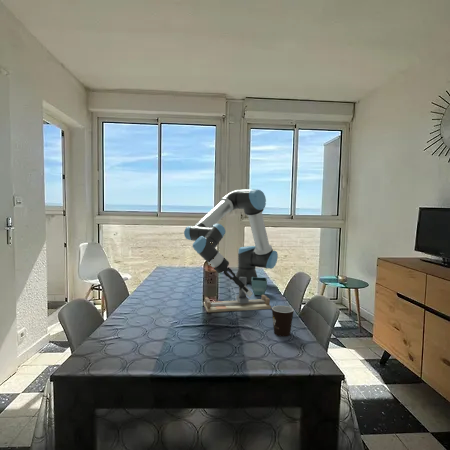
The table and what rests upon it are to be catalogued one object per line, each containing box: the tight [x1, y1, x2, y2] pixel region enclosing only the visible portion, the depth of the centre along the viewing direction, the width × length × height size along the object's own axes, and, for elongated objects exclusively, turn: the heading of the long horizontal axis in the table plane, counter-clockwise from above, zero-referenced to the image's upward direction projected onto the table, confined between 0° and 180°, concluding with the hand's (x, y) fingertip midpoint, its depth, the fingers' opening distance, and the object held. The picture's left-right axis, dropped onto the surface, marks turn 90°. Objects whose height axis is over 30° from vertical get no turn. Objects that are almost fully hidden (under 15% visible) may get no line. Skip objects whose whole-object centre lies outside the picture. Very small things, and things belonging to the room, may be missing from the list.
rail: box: [203, 294, 272, 313], centre depth 162 cm, size 12×32×4 cm, turn 103°
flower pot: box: [251, 276, 268, 296], centre depth 184 cm, size 9×9×9 cm
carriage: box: [236, 277, 250, 303], centre depth 162 cm, size 7×4×12 cm, turn 13°
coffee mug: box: [271, 305, 294, 338], centre depth 131 cm, size 12×9×10 cm
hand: (249, 293), depth 163 cm, fingers open, 4 cm apart
